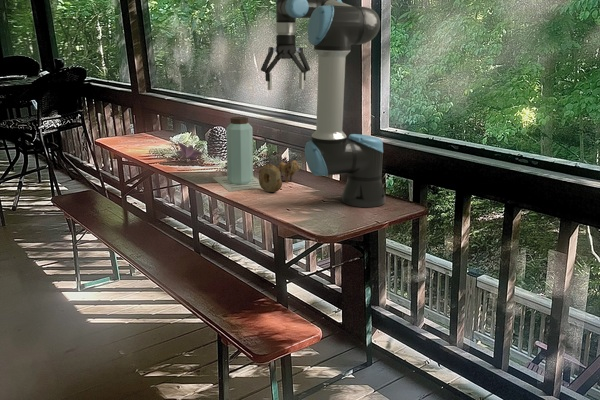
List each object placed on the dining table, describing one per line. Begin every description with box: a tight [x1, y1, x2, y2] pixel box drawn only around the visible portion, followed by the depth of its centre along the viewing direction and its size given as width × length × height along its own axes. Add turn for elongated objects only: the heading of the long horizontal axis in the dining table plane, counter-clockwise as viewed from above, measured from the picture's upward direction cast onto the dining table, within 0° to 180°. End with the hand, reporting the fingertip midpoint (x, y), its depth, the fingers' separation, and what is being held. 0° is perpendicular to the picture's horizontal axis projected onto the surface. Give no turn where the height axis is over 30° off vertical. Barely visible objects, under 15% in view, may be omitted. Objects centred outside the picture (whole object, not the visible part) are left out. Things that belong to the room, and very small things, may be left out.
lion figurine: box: [277, 160, 301, 184], centre depth 228 cm, size 15×5×9 cm, turn 38°
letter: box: [212, 175, 262, 192], centre depth 225 cm, size 22×16×1 cm
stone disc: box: [258, 164, 283, 193], centre depth 211 cm, size 10×4×10 cm, turn 46°
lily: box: [175, 141, 204, 166], centre depth 255 cm, size 12×12×10 cm
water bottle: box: [225, 116, 254, 185], centre depth 221 cm, size 10×10×25 cm
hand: (285, 89), depth 230 cm, fingers open, 13 cm apart
